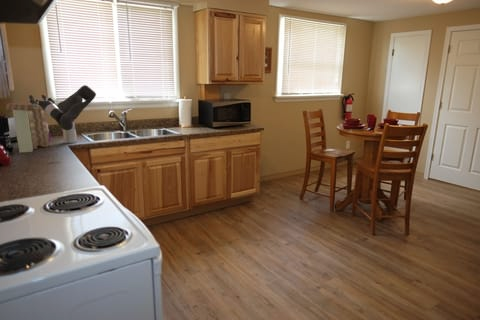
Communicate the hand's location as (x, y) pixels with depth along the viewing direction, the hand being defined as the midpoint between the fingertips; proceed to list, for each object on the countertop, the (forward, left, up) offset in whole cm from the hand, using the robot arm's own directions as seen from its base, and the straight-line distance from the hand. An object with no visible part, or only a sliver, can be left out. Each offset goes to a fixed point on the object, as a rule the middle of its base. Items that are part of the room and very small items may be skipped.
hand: (36, 95), depth 223 cm
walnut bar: (-2, -16, -10) cm, 19 cm away
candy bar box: (-37, -33, -40) cm, 64 cm away
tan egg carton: (-18, -23, -40) cm, 50 cm away
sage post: (-2, -16, -40) cm, 43 cm away
